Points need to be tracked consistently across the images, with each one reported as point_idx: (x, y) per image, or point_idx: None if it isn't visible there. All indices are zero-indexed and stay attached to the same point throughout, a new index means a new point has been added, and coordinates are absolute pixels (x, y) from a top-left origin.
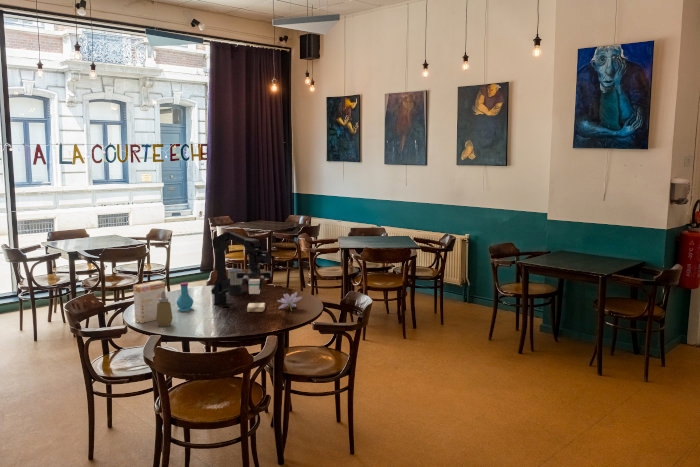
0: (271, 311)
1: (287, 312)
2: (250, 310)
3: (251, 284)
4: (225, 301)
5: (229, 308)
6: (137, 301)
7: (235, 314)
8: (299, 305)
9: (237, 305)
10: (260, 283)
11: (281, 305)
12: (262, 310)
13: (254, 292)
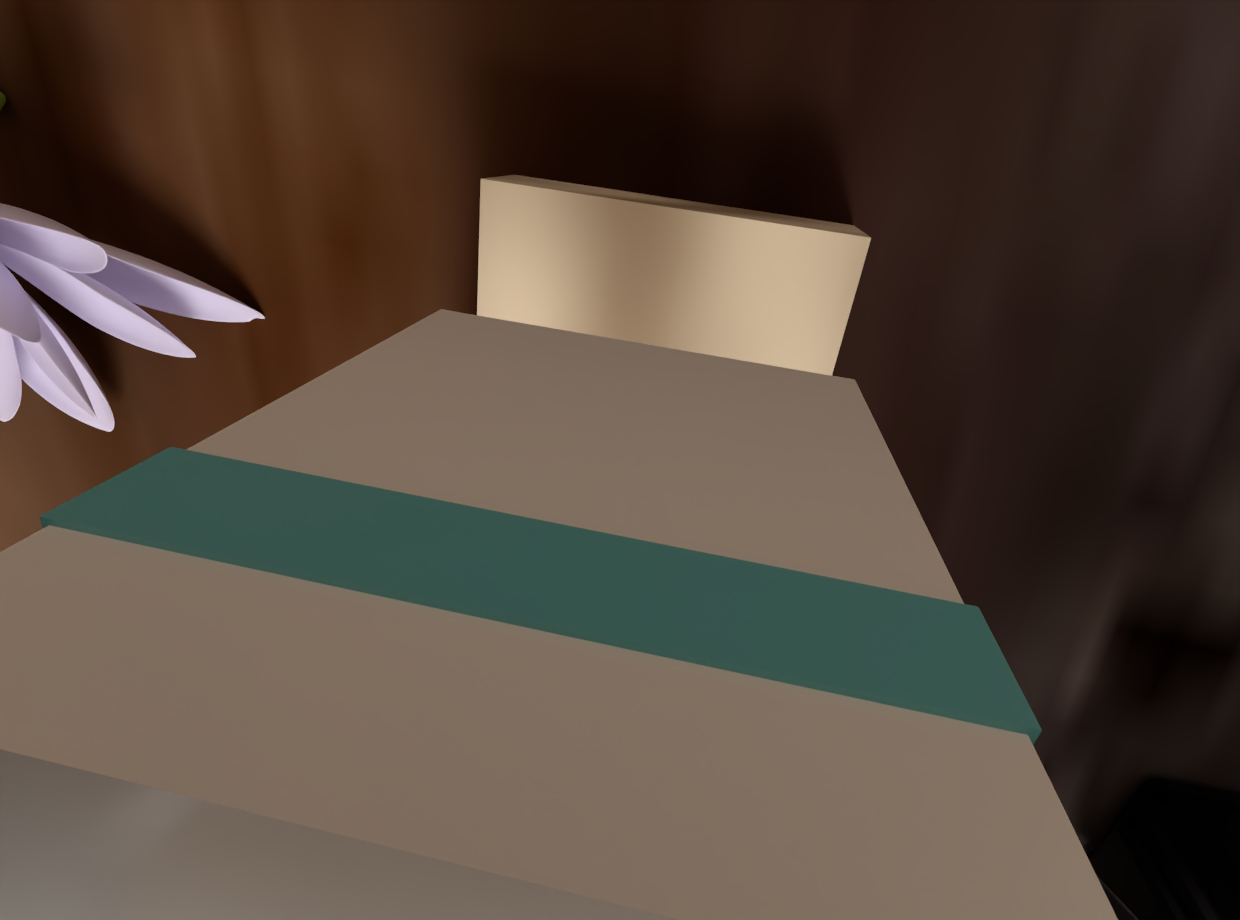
0: (359, 156)
1: (41, 4)
2: (780, 218)
3: (735, 620)
4: (1146, 846)
5: (1147, 560)
6: None
7: (1183, 37)
8: (2, 441)
9: None
10: None
11: (170, 332)
12: (525, 179)
13: (614, 360)
